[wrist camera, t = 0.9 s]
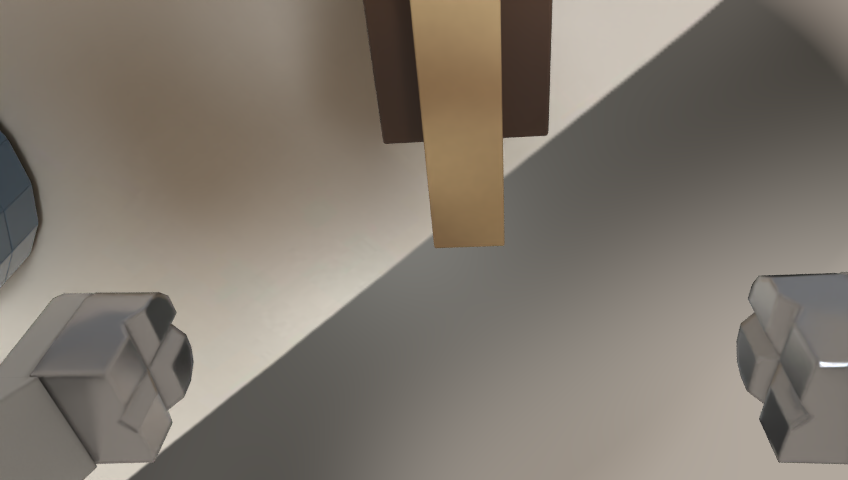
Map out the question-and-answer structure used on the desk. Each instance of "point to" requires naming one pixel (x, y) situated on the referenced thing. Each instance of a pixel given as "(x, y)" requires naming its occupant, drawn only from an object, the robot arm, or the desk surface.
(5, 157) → the bowl
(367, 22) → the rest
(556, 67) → the desk surface
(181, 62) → the desk surface
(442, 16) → the tan wooden bar
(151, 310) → the robot arm
